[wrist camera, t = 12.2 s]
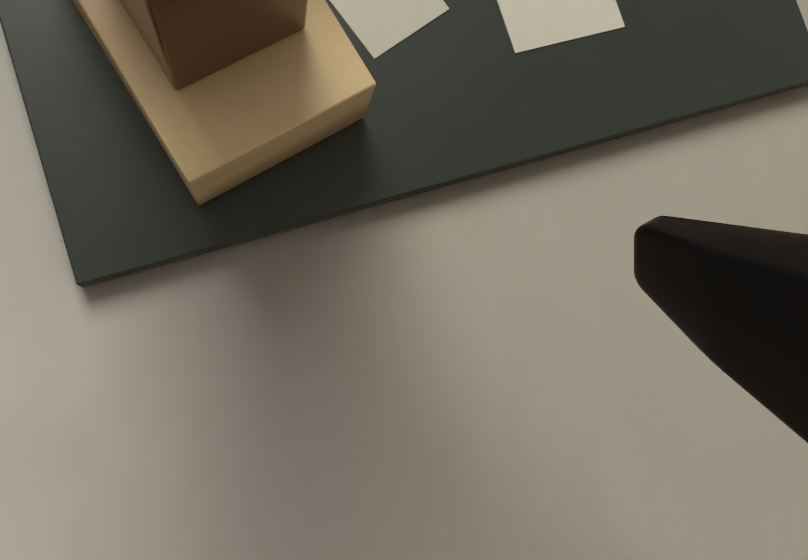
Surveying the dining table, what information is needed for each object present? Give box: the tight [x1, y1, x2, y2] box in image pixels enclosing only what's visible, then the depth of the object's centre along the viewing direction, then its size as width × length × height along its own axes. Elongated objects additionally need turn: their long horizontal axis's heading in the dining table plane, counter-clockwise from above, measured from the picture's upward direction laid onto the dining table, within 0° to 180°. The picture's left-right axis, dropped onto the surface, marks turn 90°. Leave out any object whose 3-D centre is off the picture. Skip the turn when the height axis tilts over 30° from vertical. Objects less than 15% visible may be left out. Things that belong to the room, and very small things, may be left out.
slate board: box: [0, 0, 808, 287], centre depth 18 cm, size 20×9×1 cm, turn 108°
